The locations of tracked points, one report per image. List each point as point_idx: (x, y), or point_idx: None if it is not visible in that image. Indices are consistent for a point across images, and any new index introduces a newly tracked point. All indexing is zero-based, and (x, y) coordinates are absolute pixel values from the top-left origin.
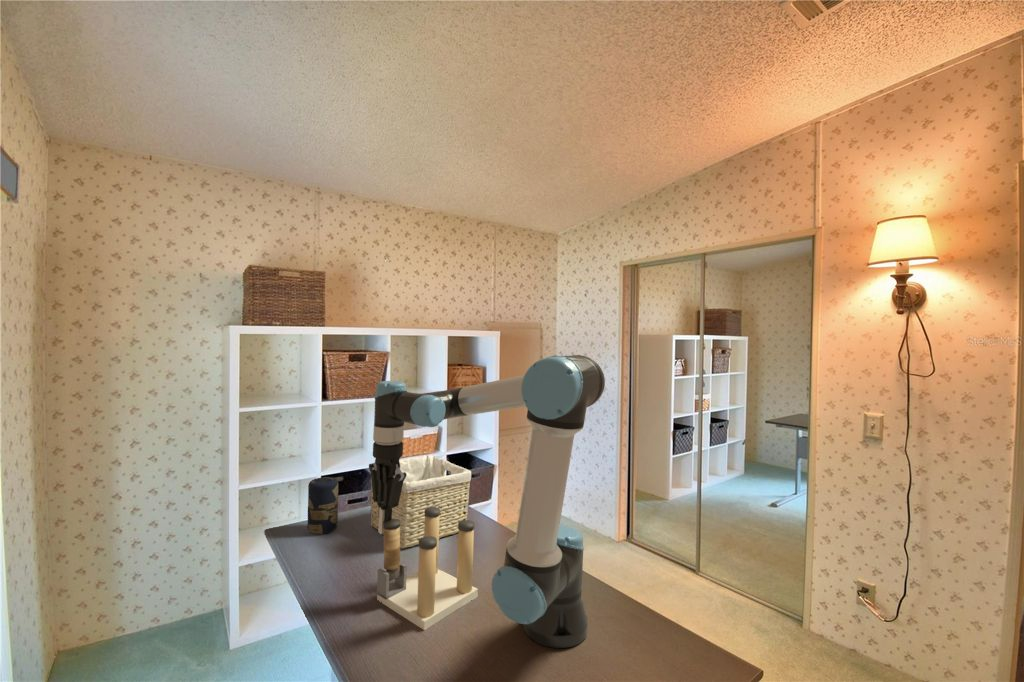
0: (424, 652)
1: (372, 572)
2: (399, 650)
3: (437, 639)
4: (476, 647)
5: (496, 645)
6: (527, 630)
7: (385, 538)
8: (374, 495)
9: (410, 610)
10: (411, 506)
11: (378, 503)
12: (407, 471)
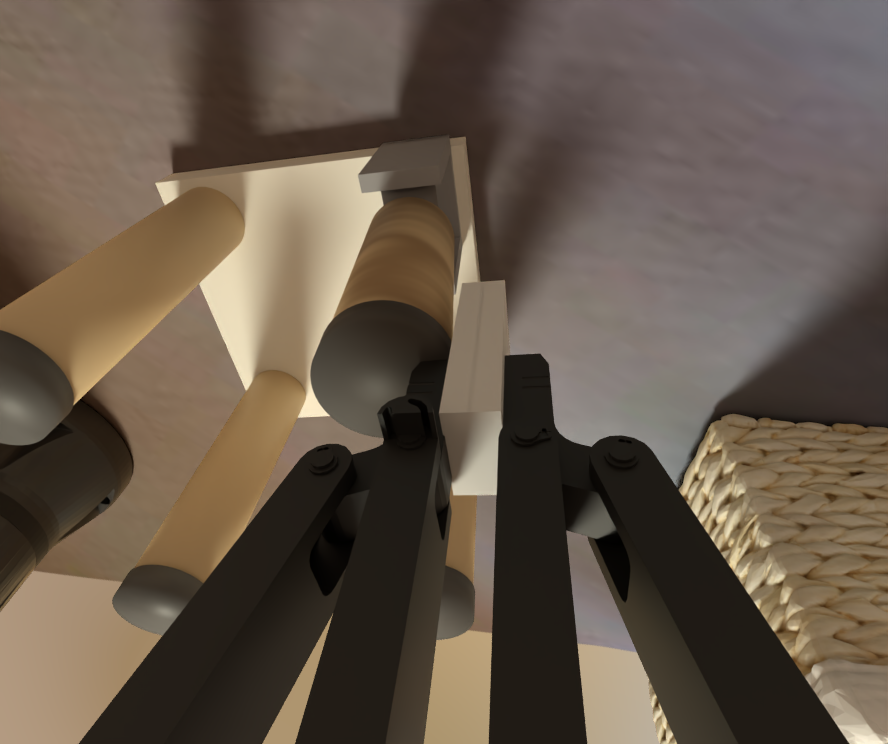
0: (49, 100)
1: (679, 235)
2: (91, 24)
3: (105, 180)
4: (24, 250)
5: (17, 297)
6: None
7: (380, 269)
8: (642, 501)
9: (250, 182)
10: (771, 592)
11: (524, 440)
12: None
